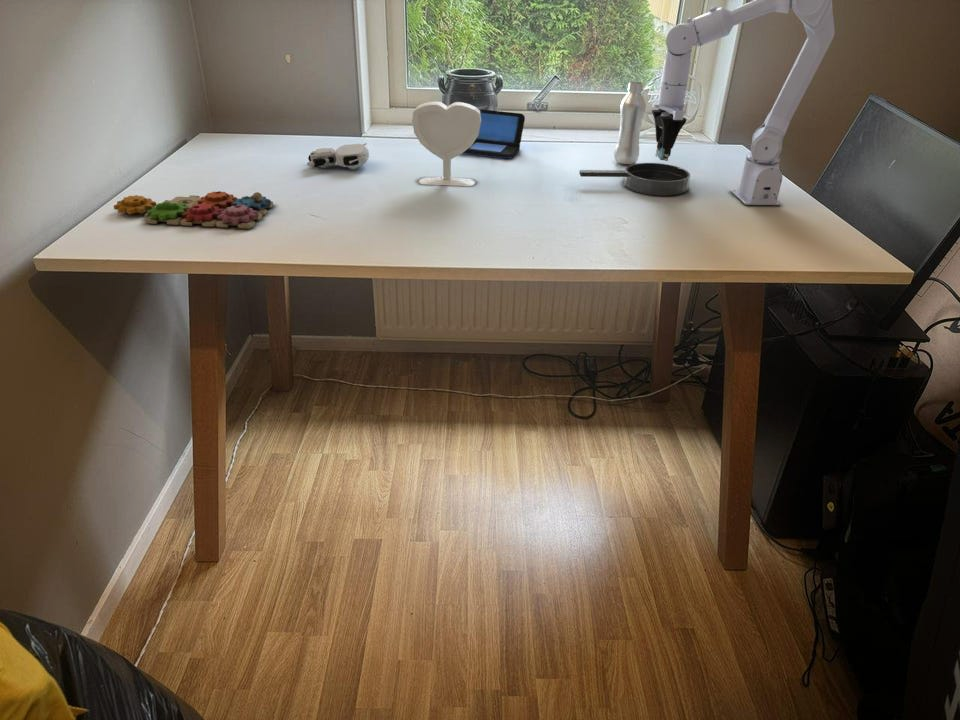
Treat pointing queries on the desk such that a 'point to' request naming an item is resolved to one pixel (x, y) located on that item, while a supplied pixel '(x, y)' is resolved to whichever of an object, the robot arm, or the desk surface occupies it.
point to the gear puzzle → (200, 209)
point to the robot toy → (340, 156)
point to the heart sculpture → (446, 134)
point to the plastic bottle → (630, 124)
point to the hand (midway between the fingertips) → (664, 145)
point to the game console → (498, 134)
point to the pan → (657, 179)
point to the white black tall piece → (661, 152)
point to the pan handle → (603, 173)
